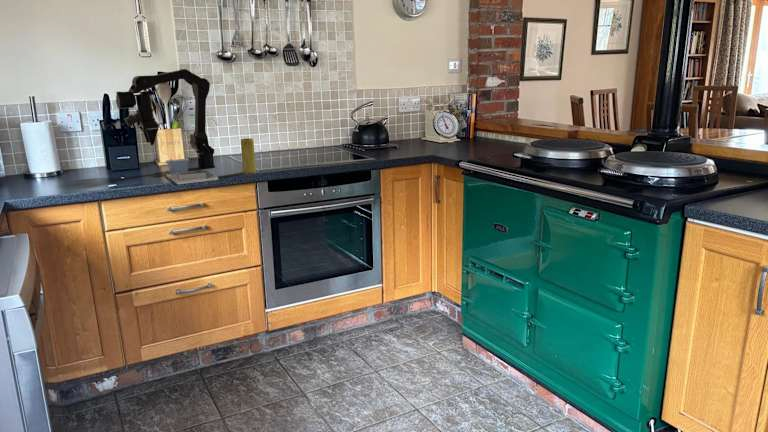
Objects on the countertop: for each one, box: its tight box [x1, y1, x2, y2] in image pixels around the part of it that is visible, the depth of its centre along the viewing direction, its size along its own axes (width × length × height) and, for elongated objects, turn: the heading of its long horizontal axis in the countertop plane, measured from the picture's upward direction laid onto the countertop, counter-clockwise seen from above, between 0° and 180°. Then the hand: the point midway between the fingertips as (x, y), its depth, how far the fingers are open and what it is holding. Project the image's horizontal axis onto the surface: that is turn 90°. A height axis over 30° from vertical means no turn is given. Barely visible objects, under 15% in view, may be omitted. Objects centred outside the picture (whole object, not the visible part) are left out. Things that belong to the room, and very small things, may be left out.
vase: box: [240, 138, 258, 174], centre depth 245 cm, size 6×6×14 cm
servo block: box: [165, 158, 191, 174], centre depth 246 cm, size 9×4×7 cm, turn 122°
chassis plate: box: [165, 169, 219, 185], centre depth 236 cm, size 16×20×3 cm
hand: (150, 143), depth 243 cm, fingers open, 9 cm apart
